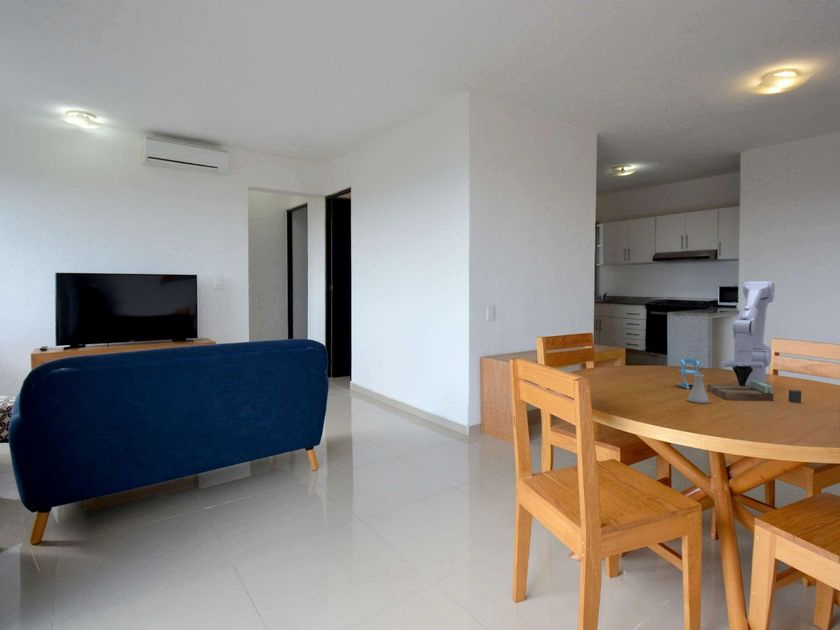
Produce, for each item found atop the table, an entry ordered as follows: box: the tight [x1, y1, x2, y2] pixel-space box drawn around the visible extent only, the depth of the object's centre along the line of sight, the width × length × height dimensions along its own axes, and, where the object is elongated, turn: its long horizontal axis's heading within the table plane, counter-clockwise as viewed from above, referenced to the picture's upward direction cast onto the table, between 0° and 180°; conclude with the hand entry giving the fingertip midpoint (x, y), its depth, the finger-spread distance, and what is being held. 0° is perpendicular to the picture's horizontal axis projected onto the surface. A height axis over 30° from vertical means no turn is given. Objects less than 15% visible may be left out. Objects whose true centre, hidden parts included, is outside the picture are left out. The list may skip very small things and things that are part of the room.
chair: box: [676, 358, 701, 390], centre depth 200 cm, size 8×8×12 cm
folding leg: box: [749, 380, 774, 394], centre depth 182 cm, size 11×3×2 cm, turn 171°
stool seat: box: [707, 383, 775, 402], centre depth 186 cm, size 16×16×2 cm
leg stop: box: [788, 389, 802, 403], centre depth 174 cm, size 2×3×4 cm, turn 82°
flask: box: [687, 373, 710, 404], centre depth 177 cm, size 7×7×10 cm
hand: (741, 385), depth 185 cm, fingers closed
